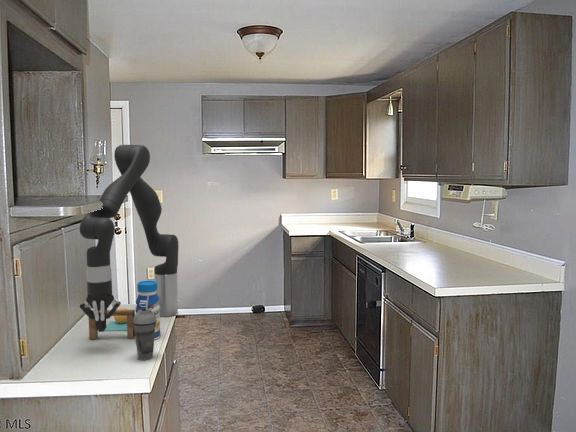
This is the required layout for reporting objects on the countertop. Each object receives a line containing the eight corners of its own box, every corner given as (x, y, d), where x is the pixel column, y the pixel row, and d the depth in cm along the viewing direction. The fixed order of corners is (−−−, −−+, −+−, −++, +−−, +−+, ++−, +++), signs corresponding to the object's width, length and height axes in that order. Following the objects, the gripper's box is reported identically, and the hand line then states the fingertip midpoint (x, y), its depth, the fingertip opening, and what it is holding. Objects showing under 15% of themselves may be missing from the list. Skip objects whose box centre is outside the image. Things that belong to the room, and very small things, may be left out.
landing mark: (111, 321, 190) (111, 320, 190) (142, 320, 191) (142, 320, 191) (101, 331, 178) (101, 330, 178) (135, 330, 179) (135, 329, 179)
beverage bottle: (149, 332, 177) (148, 278, 175) (165, 336, 172) (164, 281, 170) (130, 338, 170) (129, 283, 168) (147, 343, 165) (146, 286, 163)
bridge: (92, 337, 171) (91, 310, 170) (135, 336, 172) (134, 309, 171) (89, 340, 168) (88, 312, 167) (133, 339, 169) (132, 312, 169)
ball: (115, 305, 189) (112, 311, 183) (131, 305, 190) (128, 311, 184) (115, 319, 190) (112, 326, 185) (131, 319, 191) (128, 326, 185)
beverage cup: (136, 353, 156) (135, 292, 154) (159, 353, 156) (158, 292, 154) (130, 362, 149) (129, 298, 147) (154, 361, 149) (153, 298, 147)
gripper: (123, 275, 160) (125, 326, 161) (82, 276, 158) (84, 327, 160) (117, 281, 152) (119, 334, 154) (74, 282, 151) (76, 335, 153)
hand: (101, 330), depth 157 cm, fingers closed
